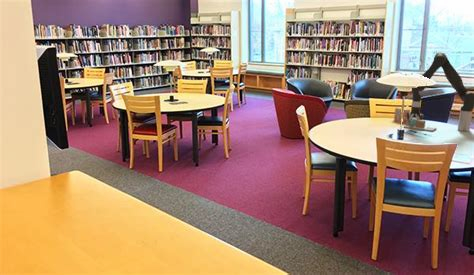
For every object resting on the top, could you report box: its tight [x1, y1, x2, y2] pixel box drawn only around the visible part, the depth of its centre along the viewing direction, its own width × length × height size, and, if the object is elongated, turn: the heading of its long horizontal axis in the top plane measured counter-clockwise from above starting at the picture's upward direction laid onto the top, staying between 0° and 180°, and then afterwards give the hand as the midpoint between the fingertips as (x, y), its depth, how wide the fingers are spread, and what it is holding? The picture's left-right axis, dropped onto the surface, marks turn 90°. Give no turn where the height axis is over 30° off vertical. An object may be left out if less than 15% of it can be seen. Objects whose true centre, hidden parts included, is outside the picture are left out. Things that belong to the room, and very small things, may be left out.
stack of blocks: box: [393, 107, 417, 125], centre depth 390 cm, size 21×6×12 cm, turn 27°
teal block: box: [409, 118, 417, 125], centre depth 374 cm, size 6×6×6 cm
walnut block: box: [416, 119, 426, 128], centre depth 361 cm, size 6×6×6 cm
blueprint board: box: [403, 123, 437, 133], centre depth 362 cm, size 12×24×2 cm, turn 52°
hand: (413, 124), depth 374 cm, fingers closed on teal block, 6 cm apart
